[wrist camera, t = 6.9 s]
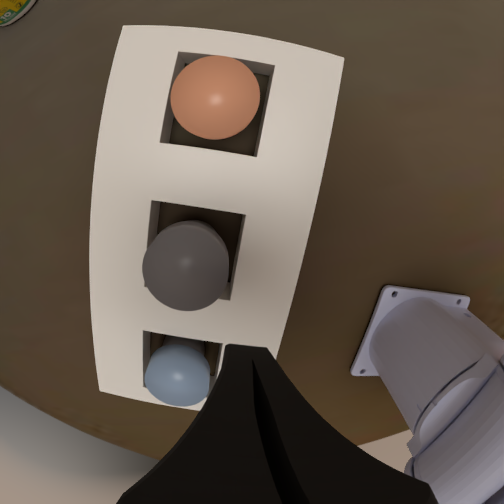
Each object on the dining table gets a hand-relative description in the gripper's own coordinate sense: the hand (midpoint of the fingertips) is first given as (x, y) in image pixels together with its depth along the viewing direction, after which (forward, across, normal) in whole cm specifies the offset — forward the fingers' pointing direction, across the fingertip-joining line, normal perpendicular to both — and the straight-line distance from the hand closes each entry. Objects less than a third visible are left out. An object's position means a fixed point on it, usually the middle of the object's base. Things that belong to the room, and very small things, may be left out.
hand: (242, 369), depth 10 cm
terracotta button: (+10, +3, -9) cm, 14 cm away
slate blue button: (+10, +3, +7) cm, 13 cm away
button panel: (+10, +2, -1) cm, 11 cm away
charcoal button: (+9, +3, -1) cm, 10 cm away
